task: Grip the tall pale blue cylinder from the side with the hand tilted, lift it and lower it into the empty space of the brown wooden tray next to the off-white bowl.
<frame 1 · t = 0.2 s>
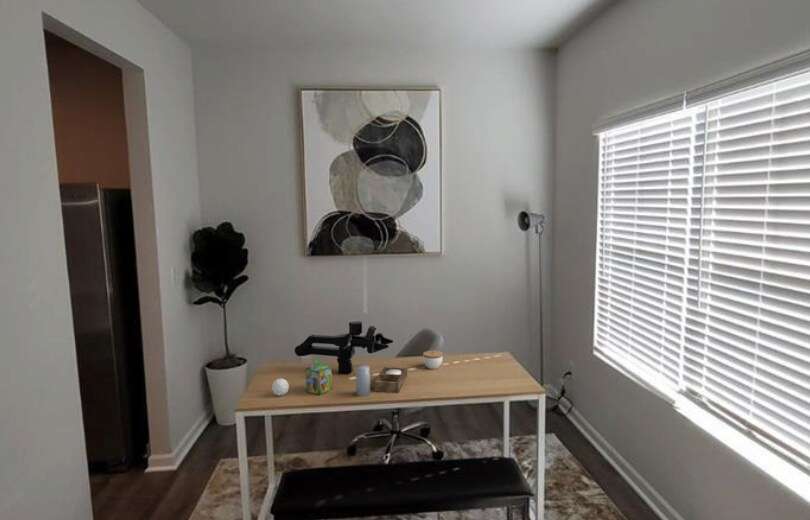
hand: (390, 343, 245), 17 cm above the table, tool horizontal, fingers open, 9 cm apart
pale blue cylinder: (363, 394, 222), on the table
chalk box: (319, 391, 227), on the table
lidded jar: (433, 367, 259), on the table
brown wooden tray: (391, 383, 235), on the table
bowl: (393, 379, 240), resting on brown wooden tray
geometric ball: (280, 395, 222), on the table
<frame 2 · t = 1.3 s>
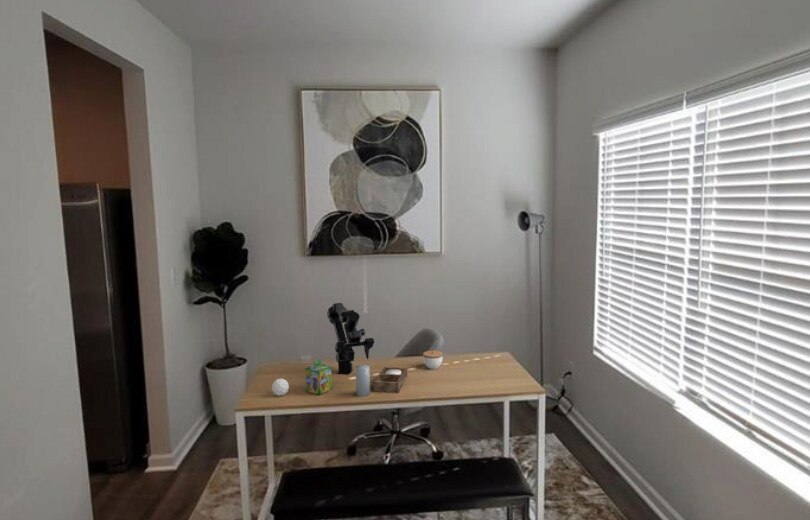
hand: (358, 360, 228), 14 cm above the table, tool tilted 45°, fingers open, 9 cm apart
nothing on the table moved.
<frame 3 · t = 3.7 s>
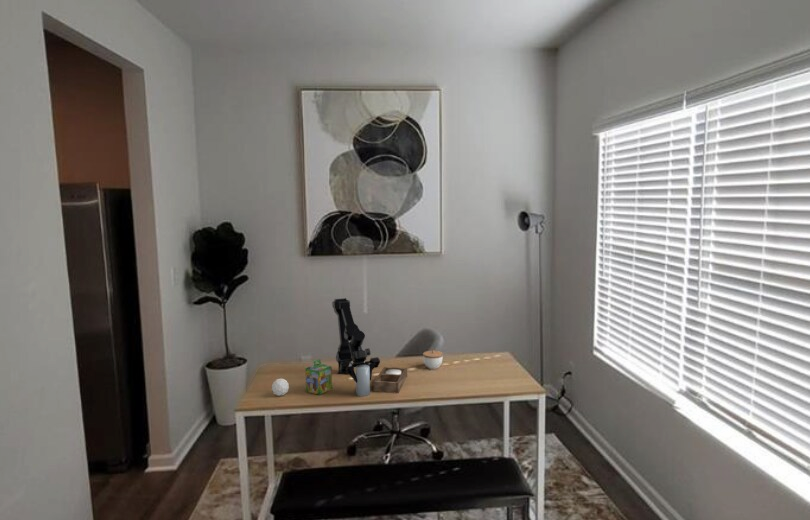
hand: (363, 381, 220), 7 cm above the table, tool tilted 45°, fingers closed on pale blue cylinder, 6 cm apart
pale blue cylinder: (363, 394, 222), on the table, touching gripper
everything else where it was.
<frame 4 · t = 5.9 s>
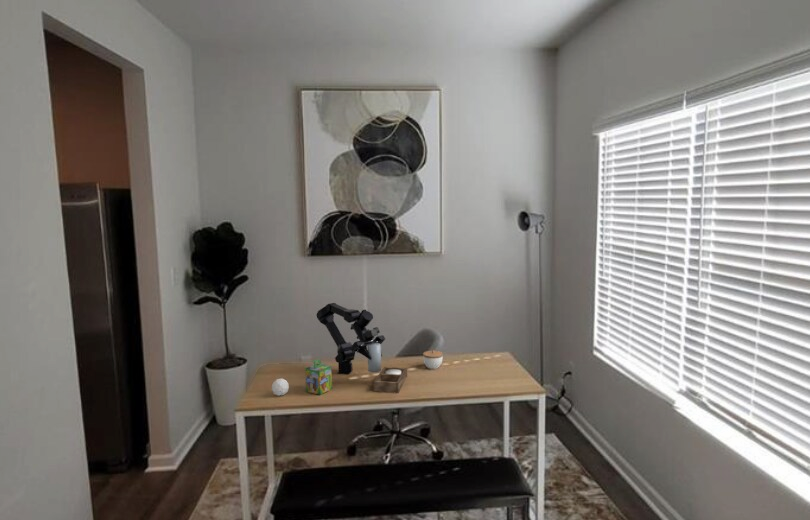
hand: (376, 357, 233), 13 cm above the table, tool tilted 45°, fingers closed on pale blue cylinder, 6 cm apart
pale blue cylinder: (374, 370, 235), point 7 cm above the table, touching gripper
everything else where it was.
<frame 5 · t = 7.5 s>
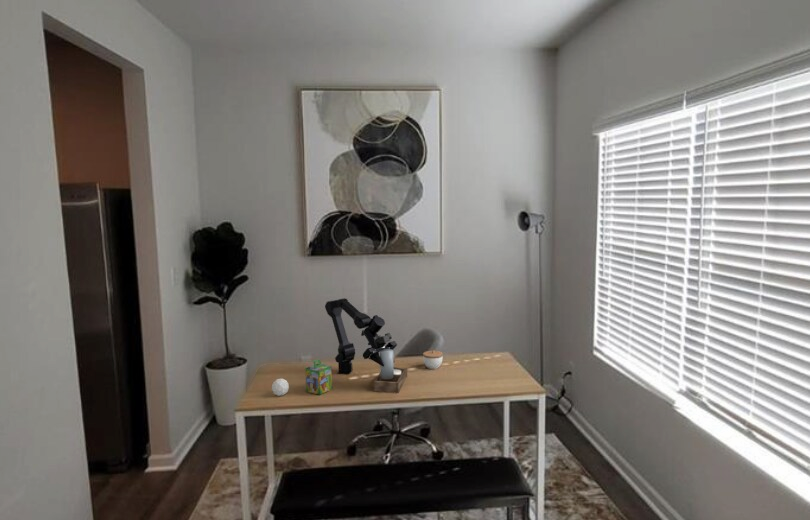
hand: (388, 364, 228), 12 cm above the table, tool tilted 45°, fingers closed on pale blue cylinder, 6 cm apart
pale blue cylinder: (387, 377, 230), point 5 cm above the table, touching gripper
everything else where it was.
when the fingers open (9 cm above the table, at t = 8.4 s): pale blue cylinder drops 2 cm, resting on brown wooden tray.
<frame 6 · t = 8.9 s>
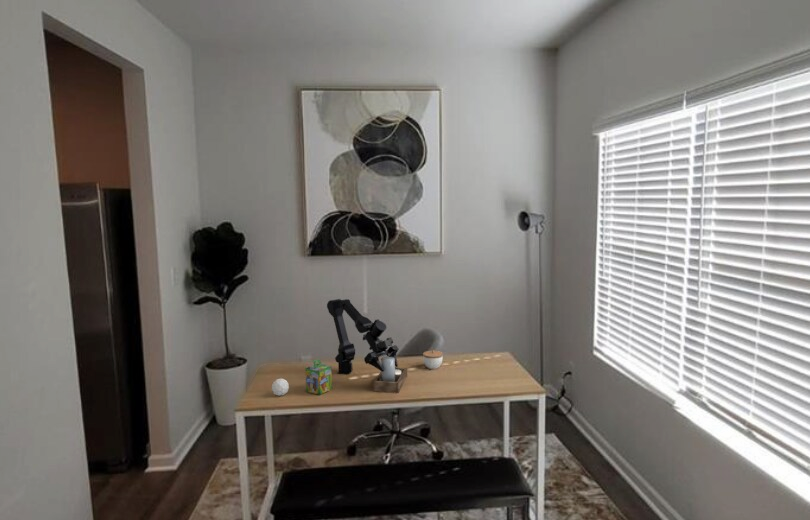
hand: (390, 368, 228), 10 cm above the table, tool tilted 45°, fingers open, 9 cm apart
pale blue cylinder: (388, 385, 230), point 1 cm above the table, touching brown wooden tray
everything else where it was.
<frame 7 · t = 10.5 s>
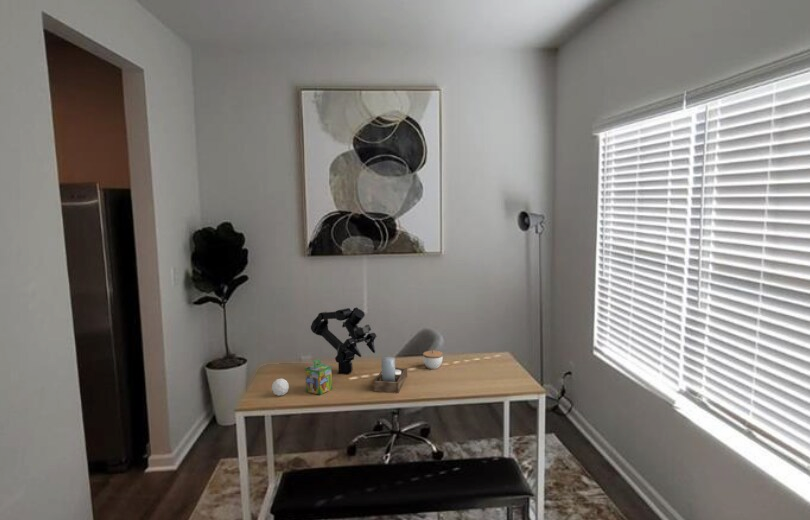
hand: (367, 354, 239), 13 cm above the table, tool tilted 45°, fingers open, 9 cm apart
nothing on the table moved.
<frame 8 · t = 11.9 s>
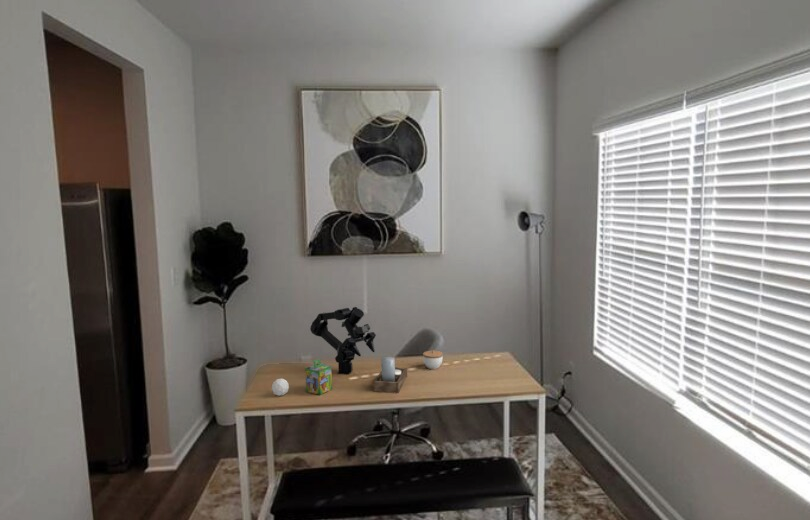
hand: (367, 353, 239), 14 cm above the table, tool tilted 45°, fingers open, 9 cm apart
nothing on the table moved.
at the end: pale blue cylinder inside the target area on the brown wooden tray (0.1 cm from its centre), point 1.3 cm above the brown wooden tray's base; pale blue cylinder tilted 1°; the gripper is holding nothing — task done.
